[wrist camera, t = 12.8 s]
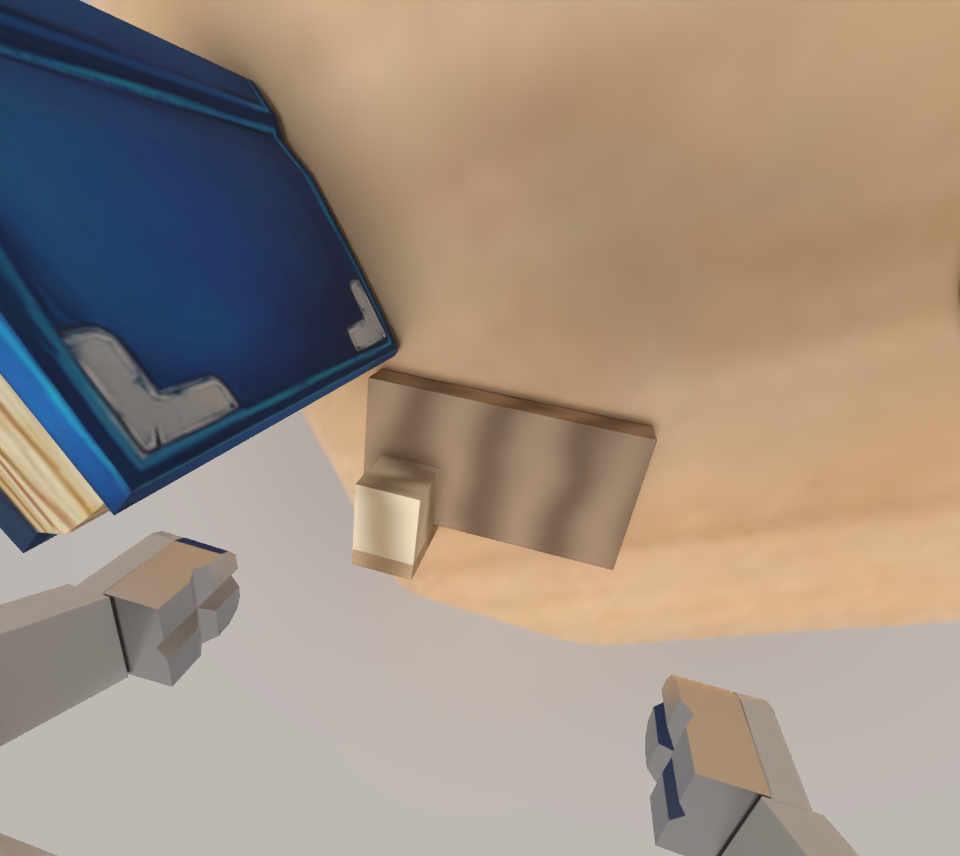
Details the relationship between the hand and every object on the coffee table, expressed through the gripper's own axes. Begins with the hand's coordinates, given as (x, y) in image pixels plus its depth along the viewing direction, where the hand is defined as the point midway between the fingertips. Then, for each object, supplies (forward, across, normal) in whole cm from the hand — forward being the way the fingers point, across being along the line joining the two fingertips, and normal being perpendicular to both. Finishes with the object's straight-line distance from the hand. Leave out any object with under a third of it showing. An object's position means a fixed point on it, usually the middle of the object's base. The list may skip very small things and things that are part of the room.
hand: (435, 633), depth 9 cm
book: (+29, +20, -3) cm, 36 cm away
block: (+29, +9, +16) cm, 34 cm away
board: (+29, +2, +12) cm, 31 cm away
